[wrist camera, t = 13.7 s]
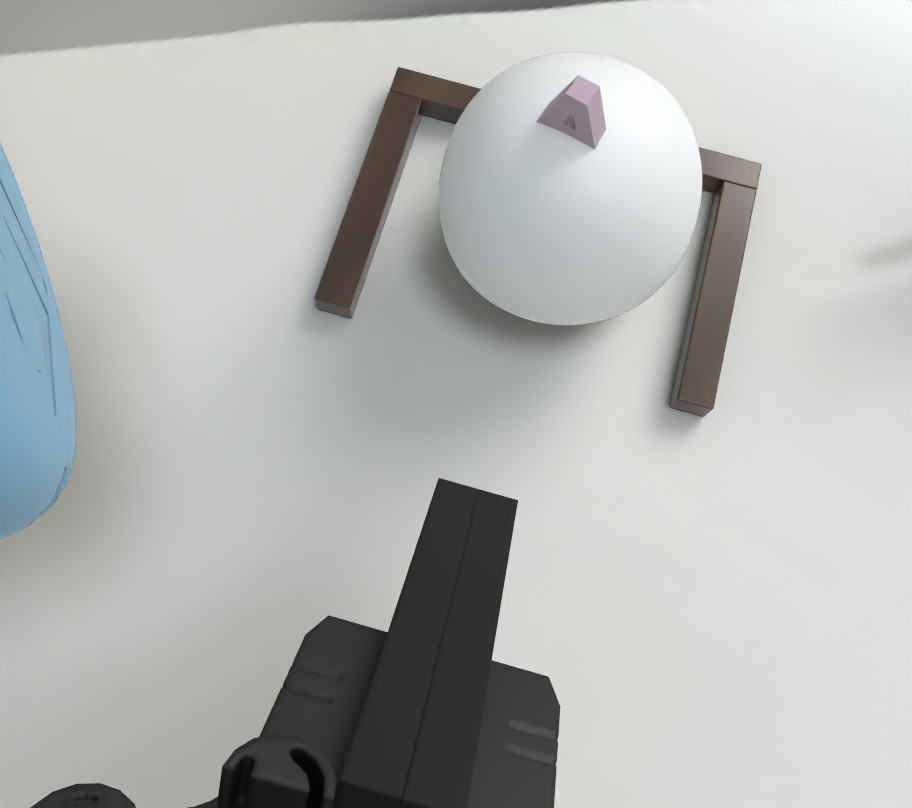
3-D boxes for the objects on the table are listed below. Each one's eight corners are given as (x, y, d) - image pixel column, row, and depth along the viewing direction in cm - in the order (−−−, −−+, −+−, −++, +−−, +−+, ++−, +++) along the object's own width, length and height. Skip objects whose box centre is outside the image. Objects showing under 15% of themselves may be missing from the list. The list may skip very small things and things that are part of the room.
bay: (317, 309, 37) (314, 298, 36) (398, 82, 41) (398, 66, 40) (704, 417, 37) (713, 409, 36) (752, 177, 40) (762, 163, 39)
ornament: (420, 340, 37) (421, 197, 26) (453, 140, 40) (468, -67, 29) (650, 375, 37) (754, 248, 26) (667, 173, 40) (767, -22, 29)
